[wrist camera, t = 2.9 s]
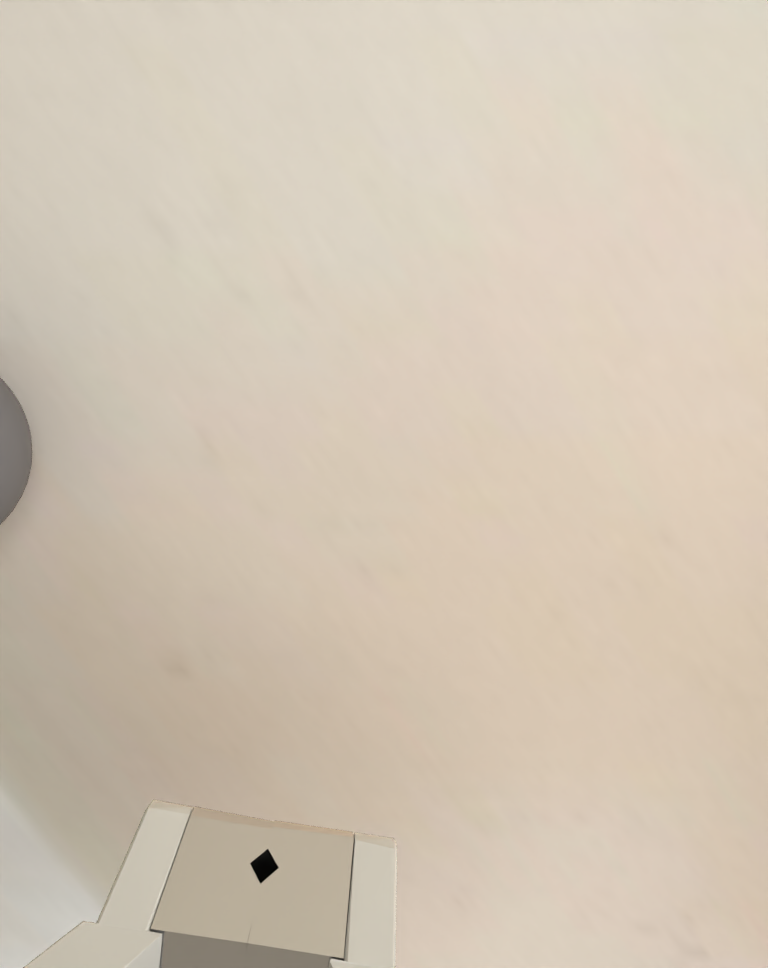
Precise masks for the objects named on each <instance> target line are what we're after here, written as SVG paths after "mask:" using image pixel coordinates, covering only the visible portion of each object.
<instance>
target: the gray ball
mask: <svg viewBox="0 0 768 968" xmlns="http://www.w3.org/2000/svg"><path fill="white" fill-rule="evenodd" d="M31 464H32V442H31V434H30V429H29V425H28V422H27V419H26V416H25V413H24V411H23V409H22V407H21V405H20V403H19V401H18V400H17V398H16V397H15V395H14V394H13V392H12V391H11V389H10V388H9V387H8V386H7V384H6V383H5V382H4V381H3V380H2V379H1V378H0V524H1V523H2V522H3V521H4V520H5V519H6V518H7V517H8V516H9V514H10V513H11V512H12V511H13V509H14V508H15V506H16V504H17V503H18V501H19V499H20V498H21V496H22V494H23V492H24V489H25V487H26V484H27V481H28V478H29V474H30V469H31Z"/></svg>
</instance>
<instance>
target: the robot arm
mask: <svg viewBox="0 0 768 968" xmlns="http://www.w3.org/2000/svg"><path fill="white" fill-rule="evenodd" d="M396 877H397V845H396V842H395V840H394V838H388V837H381V836H375V835H368V834H362V833H354V835H353V832H350V831H343V830H337V829H330V828H323V827H316V826H309V825H303V824H296V823H289V822H282V821H270V820H264V819H259V818H254V817H248V816H243V815H238V814H232V813H227V812H221V811H216V810H211V809H205V808H200V807H191V806H185V805H180V804H174V803H169V802H164V801H158V800H153V801H152V802H151V804H150V805H149V806H148V808H147V809H146V810H145V812H144V815H143V817H142V819H141V822H140V824H139V826H138V829H137V831H136V833H135V835H134V838H133V840H132V842H131V845H130V847H129V849H128V851H127V854H126V856H125V858H124V861H123V863H122V865H121V868H120V870H119V872H118V874H117V877H116V879H115V881H114V884H113V886H112V888H111V890H110V893H109V895H108V897H107V900H106V902H105V904H104V907H103V909H102V911H101V913H100V916H99V918H98V920H97V923H94V922H85V921H83V922H81V923H80V924H79V925H77V926H76V927H75V928H74V929H72V930H71V931H70V932H68V933H67V934H66V935H65V936H63V937H62V938H61V939H59V940H58V941H57V942H56V943H54V944H53V945H52V946H50V947H49V948H48V949H47V950H45V951H44V952H43V953H41V954H40V955H39V956H38V957H36V958H35V959H34V960H32V961H31V962H30V963H29V964H27V965H26V966H25V967H23V968H395V960H396Z"/></svg>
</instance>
